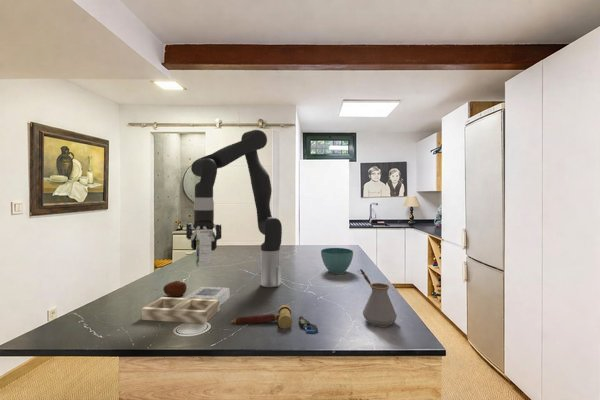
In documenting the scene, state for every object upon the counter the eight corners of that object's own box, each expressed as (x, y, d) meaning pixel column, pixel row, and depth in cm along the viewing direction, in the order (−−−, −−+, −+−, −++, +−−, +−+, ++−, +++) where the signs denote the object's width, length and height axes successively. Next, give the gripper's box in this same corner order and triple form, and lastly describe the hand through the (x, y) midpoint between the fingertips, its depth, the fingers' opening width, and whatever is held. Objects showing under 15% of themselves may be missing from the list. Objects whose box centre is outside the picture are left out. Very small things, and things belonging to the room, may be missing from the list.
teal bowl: (355, 276, 162) (355, 253, 161) (321, 276, 162) (321, 253, 162) (350, 268, 180) (350, 247, 180) (320, 268, 180) (320, 247, 180)
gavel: (228, 321, 99) (233, 309, 109) (229, 334, 99) (233, 321, 109) (291, 315, 100) (290, 304, 110) (292, 328, 101) (291, 316, 111)
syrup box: (195, 263, 122) (195, 228, 121) (210, 262, 124) (210, 227, 124) (196, 267, 116) (196, 229, 116) (212, 265, 119) (212, 229, 118)
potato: (181, 298, 128) (181, 283, 128) (160, 298, 129) (160, 283, 129) (188, 293, 135) (188, 279, 135) (168, 293, 136) (168, 278, 136)
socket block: (229, 297, 130) (229, 287, 130) (217, 308, 117) (217, 298, 117) (201, 295, 132) (201, 286, 132) (186, 306, 119) (185, 296, 119)
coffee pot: (403, 327, 101) (403, 283, 100) (372, 331, 98) (372, 285, 98) (373, 304, 121) (373, 267, 121) (346, 307, 119) (346, 269, 118)
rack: (219, 310, 116) (219, 299, 116) (205, 323, 104) (205, 312, 104) (161, 306, 119) (161, 296, 119) (141, 319, 107) (141, 308, 107)
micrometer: (318, 328, 97) (303, 330, 96) (318, 334, 97) (303, 336, 96) (310, 313, 109) (296, 314, 108) (310, 318, 109) (296, 320, 108)
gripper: (224, 208, 122) (224, 248, 123) (192, 208, 125) (191, 247, 125) (216, 209, 115) (216, 252, 115) (182, 209, 117) (182, 250, 117)
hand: (203, 249), depth 120 cm, fingers closed on syrup box, 7 cm apart
